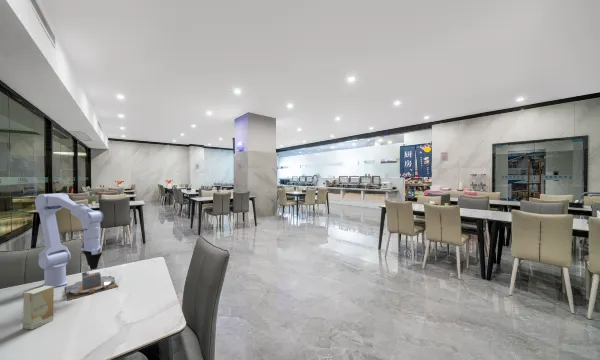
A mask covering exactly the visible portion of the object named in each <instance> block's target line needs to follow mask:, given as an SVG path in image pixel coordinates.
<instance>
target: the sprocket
mask: <svg viewBox="0 0 600 360" xmlns="http://www.w3.org/2000/svg"><path fill="white" fill-rule="evenodd" d="M88 274H90V271H84V272H82V273H81V277H82V276H84V275H88ZM113 283H116V277H115V276H111V277H108V276H107V275H103V276H102V275H101V285H99V286H95V287H91V288H88V289H84V290H83V287H82V280H81V281H77V282H74V284H73V283H72V284H71V285H72V286H70V285H67V286H68V287H67V288H66V289H65V294H66V295H67V294H74V295H79V294H83V293H92V292H95V291H97V290H100V289H103V288H104V289H105V288H107V287H109V285H111V284H113ZM66 290H67V291H66Z"/></svg>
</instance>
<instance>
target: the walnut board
mask: <svg viewBox="0 0 600 360" xmlns="http://www.w3.org/2000/svg"><path fill="white" fill-rule="evenodd" d="M107 277H112V275H108V276H107ZM72 285H73V284H71V285H67V286H66V285H65V286H64V288H65V292H66V291H67V290H66V288H67V287H68V286H72ZM115 288H119V286H118V284H117V283H116V282H115V283H113V284H111V285H109V287H107V288H105V289H104V288H103V289H100V290H97V291H95V292H92V293H83V294H79V295H74V294H66V299H67V301H72V300H74V299H78V298H81V297H82V298H83V297H85V296H90V295H94V294H96V293H97V294H98V293H101V292H103V291H108V290H111V289H115Z"/></svg>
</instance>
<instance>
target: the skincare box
mask: <svg viewBox="0 0 600 360" xmlns="http://www.w3.org/2000/svg"><path fill="white" fill-rule="evenodd" d="M54 289H55V287H54V286H40V287H37V288H33V289H31V290H28V291H25V292H23V304H22V305H23V308H22V309H23V311H22V312H23V314H22V328H23V329H25V330H34V329H36V328H39V327H41V326H43V325H45V324H48V323H49V322H51V321H53V320H54V301H55V299H54V297H55V295H54V294H55V293H54V292H55V290H54Z"/></svg>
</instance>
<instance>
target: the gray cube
mask: <svg viewBox="0 0 600 360" xmlns="http://www.w3.org/2000/svg"><path fill="white" fill-rule="evenodd" d="M101 277H102V274H101V273H100V271H98V272H97V271H96V272H94V273H89V274H88V275H84V276H82V275H81V281H82V287H83V290H84V289H88V288H91V287H95V286H99V285H101Z"/></svg>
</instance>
